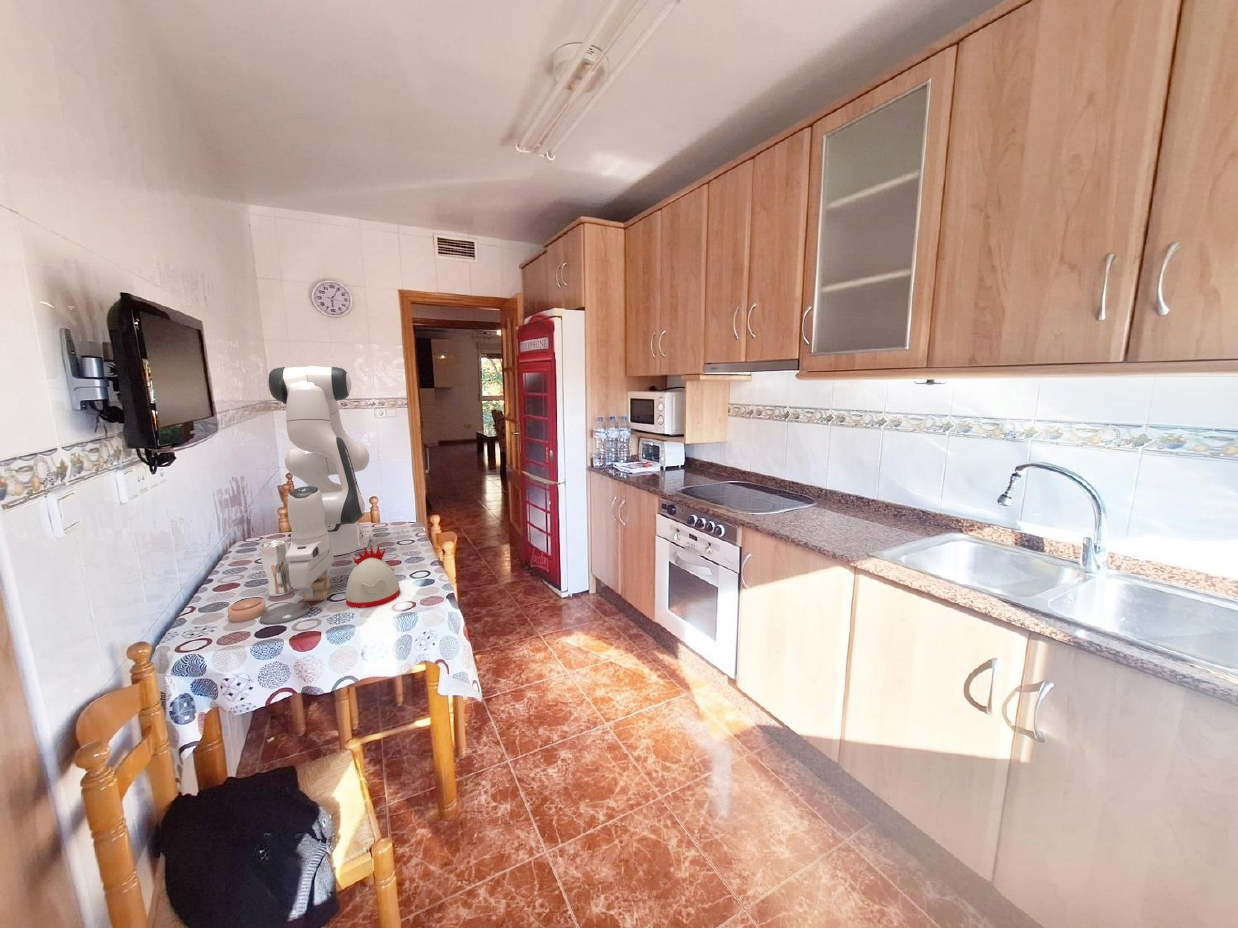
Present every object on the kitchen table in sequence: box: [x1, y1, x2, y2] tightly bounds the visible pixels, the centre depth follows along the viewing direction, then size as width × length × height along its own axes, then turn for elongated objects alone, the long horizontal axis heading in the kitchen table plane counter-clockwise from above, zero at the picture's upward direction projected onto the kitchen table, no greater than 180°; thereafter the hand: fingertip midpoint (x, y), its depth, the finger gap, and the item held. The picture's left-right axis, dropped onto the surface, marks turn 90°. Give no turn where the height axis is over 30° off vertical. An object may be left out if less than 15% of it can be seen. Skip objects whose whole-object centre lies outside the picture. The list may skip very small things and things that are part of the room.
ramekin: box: [227, 597, 268, 623], centre depth 130 cm, size 8×8×4 cm
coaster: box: [260, 602, 312, 625], centre depth 130 cm, size 11×11×1 cm
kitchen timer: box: [345, 545, 401, 609], centre depth 139 cm, size 14×14×15 cm
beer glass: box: [260, 539, 294, 597], centre depth 143 cm, size 7×7×15 cm
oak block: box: [302, 575, 331, 602], centre depth 141 cm, size 5×5×5 cm
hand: (317, 590), depth 141 cm, fingers open, 8 cm apart
